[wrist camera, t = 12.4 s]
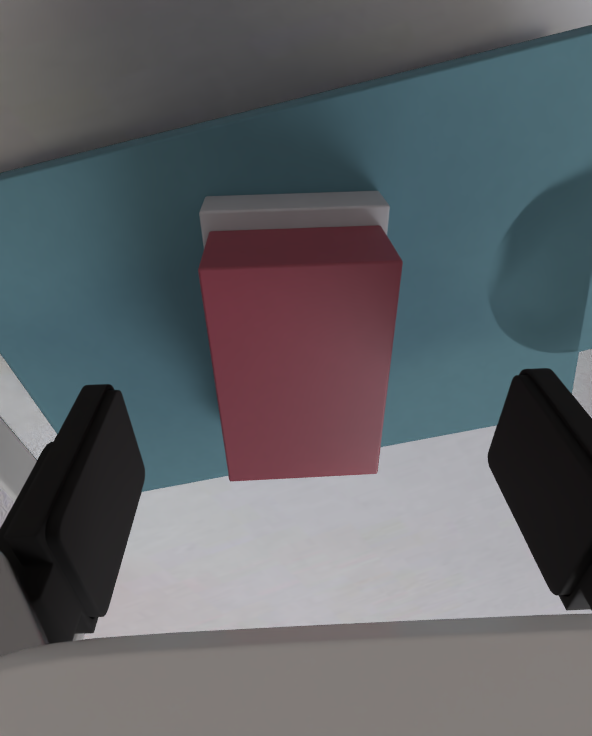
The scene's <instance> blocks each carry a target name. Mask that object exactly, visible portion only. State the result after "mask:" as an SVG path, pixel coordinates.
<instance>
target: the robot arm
mask: <svg viewBox="0 0 592 736" xmlns="http://www.w3.org/2000/svg"><path fill="white" fill-rule="evenodd" d="M488 463H489V467H490V469H491V471H492V473H493V475H494V477H495V479H496V481H497V483H498V485H499V487H500V489H501V492H502V494H503V496H504V498H505V500H506V502H507V504H508V506H509V508H510V510H511V512H512V514H513V516H514V518H515V520H516V522H517V524H518V526H519V528H520V530H521V532H522V534H523V536H524V538H525V540H526V543H527V545H528V547H529V549H530V551H531V553H532V555H533V557H534V559H535V561H536V563H537V565H538V567H539V569H540V571H541V573H542V575H543V577H544V579H545V581H546V583H547V585H548V587H549V589H550V591H551V592H552V593H553V594H555V595H559V597H560V599H561V601H562V603H563V605H564V607H565V609H566V610H584V609H591V610H592V418H591V417H590V416H589V415H588V413H587V412H586V411H585V410H584V409H583V407H582V406H581V405H580V404H579V402H578V401H577V400H576V399H575V397H574V396H573V395H572V394H571V392H570V391H569V390H568V389H567V388H566V386H565V385H564V384H563V383H562V381H561V380H560V379H559V378H558V376H557V375H556V374H555V373H554V372H553V371H552V370H551V369H549V368H535V369H523V370H522V371H521V372H520V374H519V375H516V376H514V377H513V379H512V381H511V385H510V388H509V391H508V394H507V397H506V400H505V403H504V406H503V409H502V412H501V415H500V418H499V421H498V424H497V427H496V430H495V433H494V437H493V440H492V443H491V446H490V449H489V452H488ZM144 481H145V467H144V463H143V460H142V457H141V453H140V450H139V447H138V444H137V440H136V437H135V434H134V431H133V427H132V424H131V421H130V418H129V414H128V411H127V408H126V405H125V401H124V398H123V395H122V393H121V391H120V390H114V388H113V386H112V385H110V384H98V385H85V386H83V388H82V389H81V391H80V393H79V395H78V397H77V399H76V401H75V402H74V404H73V406H72V408H71V410H70V412H69V414H68V416H67V417H66V419H65V421H64V423H63V425H62V427H61V429H60V431H59V433H58V434H57V436H56V438H55V440H54V442H50V443H49V444H47V445H46V447H45V448H44V449H43V451H42V453H41V455H40V456H39V458H38V460H37V462H36V464H35V466H34V467H33V469H32V471H31V473H30V475H29V477H28V478H27V480H26V482H25V484H24V486H23V488H22V489H21V491H20V493H19V495H18V497H17V499H16V500H15V502H14V504H13V506H12V508H11V510H10V511H9V513H8V515H7V517H6V519H5V521H4V522H3V524H2V526H1V528H0V736H592V614H563V615H533V616H510V617H486V618H463V619H440V620H418V621H397V622H375V623H354V624H334V625H313V626H293V627H274V628H255V629H236V630H217V631H199V632H180V633H164V634H149V635H135V636H121V637H107V638H94V639H85V640H77V641H73V638H74V634H82V633H94V630H95V627H96V623H97V620H98V617H104V616H105V614H106V613H107V610H108V608H109V604H110V601H111V597H112V594H113V590H114V587H115V583H116V580H117V576H118V573H119V569H120V566H121V562H122V559H123V555H124V552H125V548H126V545H127V541H128V537H129V534H130V530H131V527H132V523H133V520H134V516H135V513H136V509H137V506H138V502H139V499H140V495H141V492H142V488H143V485H144Z"/></svg>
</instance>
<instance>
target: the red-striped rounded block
mask: <svg viewBox="0 0 592 736" xmlns="http://www.w3.org/2000/svg"><path fill="white" fill-rule="evenodd" d="M36 462H37V460H36V459H35V458H34V457H33V456H32V454H31V453H30V452H29V451H28V450H27V449H26V447H25V446H24V445H23V444H22V443H21V441H20V440H19V439H18V438H17V437H16V436H15V434H14V433H13V432H12V431H11V430H10V429H9V427H8V426H7V425H6V424H5V423H4V421H3V420H2V419H1V418H0V528H1V526H2V524H3V522H4V521H5V519H6V517H7V515H8V513H9V511H10V510H11V508H12V506H13V504H14V502H15V500H16V499H17V497H18V495H19V493H20V491H21V489H22V488H23V486H24V484H25V482H26V480H27V478H28V477H29V475H30V473H31V471H32V469H33V467H34V466H35V464H36ZM84 634H85V633H82V634H74V638H73V641H77V640H83V638H84Z"/></svg>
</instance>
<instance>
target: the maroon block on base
mask: <svg viewBox="0 0 592 736" xmlns="http://www.w3.org/2000/svg"><path fill="white" fill-rule="evenodd" d="M389 210H390V206H389V204H388V203H387V202H386V200H385V199H384V198H383V196H382V195H381V194H380V192H379V191H354V192H324V193H293V194H262V195H231V196H207V197H205V199H204V202H203V204H202V207H201V210H200V212H199V216H200V224H201V231H202V238H203V245H204V251H203V255H202V258H201V262H200V265H199V268H198V274H199V280H200V287H201V294H202V301H203V307H204V314H205V321H206V327H207V334H208V341H209V348H210V354H211V361H212V368H213V374H214V381H215V388H216V394H217V401H218V408H219V415H220V421H221V428H222V435H223V441H224V448H225V455H226V462H227V468H228V475H229V480H230V481H247V480H266V479H285V478H304V477H323V476H342V475H361V474H376V473H377V471H378V463H379V455H380V446H381V438H382V430H383V422H384V413H385V405H386V397H387V389H388V381H389V372H390V364H391V356H392V348H393V339H394V331H395V323H396V315H397V307H398V298H399V290H400V282H401V274H402V266H403V261H402V259H401V258H400V256H399V254H398V253H397V251H396V249H395V248H394V246H393V245H392V243H391V241H390V240H389V238H388V236H387V231H388V220H389Z"/></svg>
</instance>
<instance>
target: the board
mask: <svg viewBox="0 0 592 736" xmlns="http://www.w3.org/2000/svg"><path fill="white" fill-rule="evenodd" d="M354 191H379V192H380V194H381V195H382V196H383V198H384V199H385V200H386V202H387V203H388V204H389V206H390V210H389V220H388V231H387V236H388V238H389V240H390V241H391V243H392V245H393V246H394V248H395V249H396V251H397V253H398V254H399V256H400V258H401V259H402V261H403V266H402V274H401V282H400V290H399V298H398V307H397V315H396V323H395V331H394V339H393V348H392V356H391V364H390V372H389V381H388V389H387V397H386V405H385V413H384V422H383V430H382V438H381V446H380V447H383V446H389V445H394V444H399V443H405V442H410V441H415V440H421V439H426V438H431V437H437V436H442V435H447V434H453V433H458V432H463V431H469V430H474V429H479V428H485V427H490V426H495V425H497V424H498V421H499V418H500V415H501V412H502V409H503V406H504V403H505V400H506V397H507V394H508V391H509V388H510V385H511V381H512V379H513V377H514V376H516V375H519V374H520V372H521V371H522V370H523V369H535V368H549V369H551V370H552V371H553V372H554V373H555V374H556V375H557V376H558V378H559V379H560V380H561V381H562V383H563V384H564V385H565V386H566V388H567V389H568V390H569V391H570V392H571V394H572V389H573V383H574V378H575V372H576V366H577V360H578V355H579V352H580V351H584V350H588V349H592V25H589V26H585V27H581V28H577V29H573V30H569V31H566V32H562V33H558V34H554V35H550V36H546V37H542V38H538V39H534V40H530V41H526V42H522V43H518V44H514V45H510V46H506V47H502V48H498V49H494V50H490V51H486V52H482V53H478V54H474V55H470V56H466V57H462V58H458V59H454V60H450V61H446V62H442V63H438V64H434V65H430V66H426V67H422V68H418V69H414V70H410V71H406V72H402V73H398V74H394V75H390V76H386V77H382V78H378V79H374V80H370V81H366V82H362V83H358V84H354V85H350V86H346V87H342V88H338V89H334V90H330V91H326V92H322V93H318V94H314V95H310V96H306V97H302V98H298V99H294V100H290V101H286V102H282V103H278V104H274V105H270V106H266V107H262V108H258V109H254V110H250V111H246V112H242V113H238V114H234V115H230V116H226V117H222V118H218V119H214V120H210V121H206V122H202V123H198V124H194V125H190V126H186V127H182V128H178V129H174V130H170V131H166V132H162V133H158V134H154V135H150V136H146V137H142V138H138V139H134V140H130V141H126V142H122V143H118V144H114V145H110V146H106V147H102V148H98V149H94V150H90V151H86V152H82V153H78V154H74V155H70V156H66V157H62V158H58V159H54V160H50V161H46V162H42V163H38V164H34V165H30V166H26V167H22V168H18V169H14V170H10V171H6V172H2V173H0V354H1V355H2V356H3V358H4V359H5V361H6V362H7V363H8V365H9V366H10V368H11V369H12V371H13V372H14V373H15V375H16V376H17V378H18V379H19V380H20V382H21V383H22V385H23V386H24V388H25V389H26V390H27V392H28V393H29V395H30V396H31V397H32V399H33V400H34V402H35V403H36V405H37V406H38V407H39V409H40V410H41V412H42V413H43V414H44V416H45V417H46V419H47V420H48V422H49V423H50V424H51V426H52V427H53V429H54V430H55V431H56V433H57V434H58V433H59V431H60V429H61V427H62V425H63V423H64V421H65V419H66V417H67V416H68V414H69V412H70V410H71V408H72V406H73V404H74V402H75V401H76V399H77V397H78V395H79V393H80V391H81V389H82V388H83V386H85V385H98V384H110V385H112V386H113V388H114V390H120V391H121V393H122V395H123V398H124V401H125V405H126V408H127V411H128V414H129V418H130V421H131V424H132V427H133V431H134V434H135V437H136V440H137V444H138V447H139V450H140V453H141V457H142V460H143V463H144V467H145V481H144V485H143V488H142V492H143V491H149V490H154V489H159V488H165V487H170V486H175V485H181V484H186V483H191V482H197V481H202V480H207V479H213V478H218V477H223V476H229V475H228V468H227V462H226V455H225V448H224V441H223V435H222V428H221V421H220V415H219V408H218V401H217V394H216V388H215V381H214V374H213V368H212V361H211V354H210V348H209V341H208V334H207V327H206V321H205V314H204V307H203V301H202V294H201V287H200V280H199V274H198V268H199V265H200V262H201V258H202V255H203V251H204V245H203V238H202V231H201V224H200V216H199V212H200V210H201V207H202V204H203V202H204V199H205V197H207V196H231V195H262V194H293V193H324V192H354Z"/></svg>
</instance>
